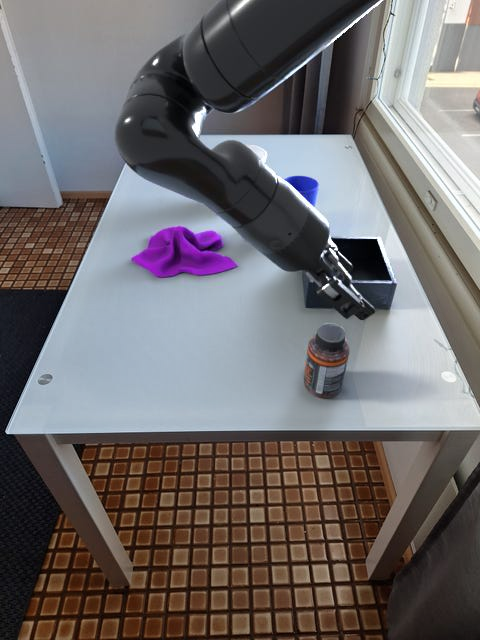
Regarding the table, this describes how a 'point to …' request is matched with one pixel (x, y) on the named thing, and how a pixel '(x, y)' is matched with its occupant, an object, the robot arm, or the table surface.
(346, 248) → the dark open box
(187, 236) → the cloth
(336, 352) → the supplement bottle
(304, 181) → the mug
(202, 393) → the table surface
